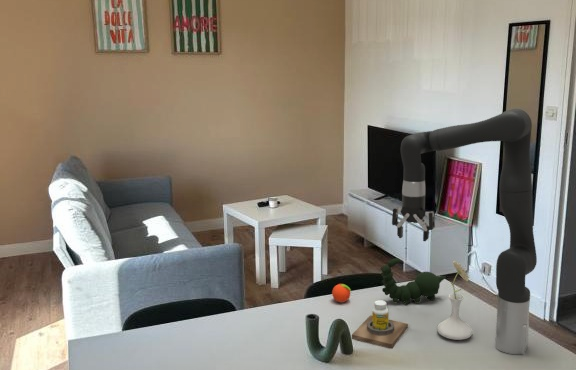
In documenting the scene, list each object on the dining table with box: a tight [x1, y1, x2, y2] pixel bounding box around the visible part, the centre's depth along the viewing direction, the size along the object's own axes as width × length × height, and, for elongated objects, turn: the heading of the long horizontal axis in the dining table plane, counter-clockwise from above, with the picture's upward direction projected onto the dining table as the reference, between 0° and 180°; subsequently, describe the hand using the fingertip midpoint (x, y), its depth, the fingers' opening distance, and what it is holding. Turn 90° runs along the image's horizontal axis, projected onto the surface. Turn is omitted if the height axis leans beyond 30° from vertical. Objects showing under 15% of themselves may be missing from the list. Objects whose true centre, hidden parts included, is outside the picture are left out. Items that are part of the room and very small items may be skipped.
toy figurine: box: [380, 257, 447, 306], centre depth 213 cm, size 9×19×25 cm
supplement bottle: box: [371, 299, 389, 330], centre depth 189 cm, size 5×5×10 cm
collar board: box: [351, 315, 409, 349], centre depth 190 cm, size 14×16×3 cm
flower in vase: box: [436, 260, 473, 341], centre depth 186 cm, size 13×11×25 cm
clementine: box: [331, 283, 352, 303], centre depth 215 cm, size 8×7×7 cm
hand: (412, 239), depth 193 cm, fingers open, 8 cm apart
